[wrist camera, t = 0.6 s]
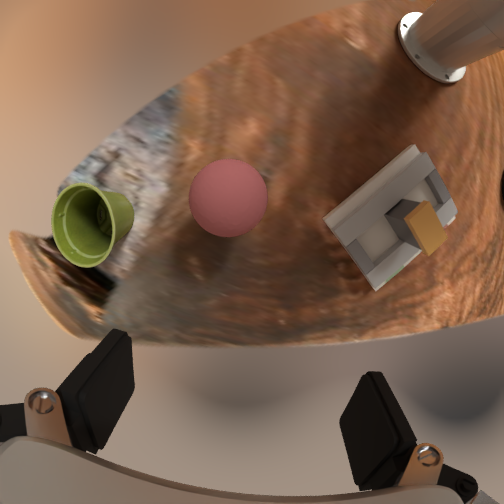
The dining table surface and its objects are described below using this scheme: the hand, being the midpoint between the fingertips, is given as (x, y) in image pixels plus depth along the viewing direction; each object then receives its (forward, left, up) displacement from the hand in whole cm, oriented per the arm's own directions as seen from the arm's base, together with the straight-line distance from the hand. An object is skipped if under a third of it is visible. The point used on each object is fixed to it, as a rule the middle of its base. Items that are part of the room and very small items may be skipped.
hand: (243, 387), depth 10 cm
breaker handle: (-16, +9, -24) cm, 30 cm away
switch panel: (-16, +9, -26) cm, 32 cm away
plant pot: (+12, -15, -26) cm, 32 cm away
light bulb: (-2, -6, -26) cm, 27 cm away
